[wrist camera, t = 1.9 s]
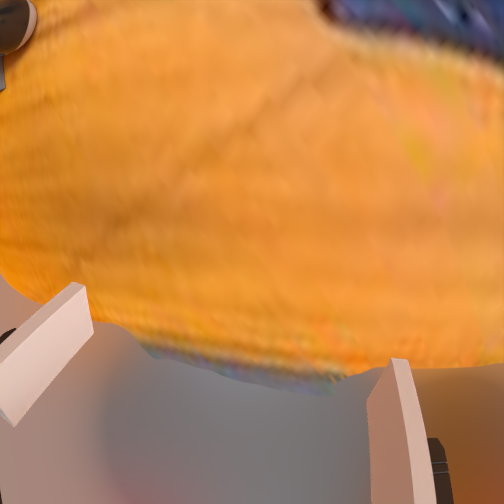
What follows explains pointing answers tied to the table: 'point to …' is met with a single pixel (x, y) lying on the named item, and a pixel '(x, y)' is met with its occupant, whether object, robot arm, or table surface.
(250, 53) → the table surface
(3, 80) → the mat
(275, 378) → the table surface
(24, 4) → the pump dispenser
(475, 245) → the table surface
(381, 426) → the robot arm
